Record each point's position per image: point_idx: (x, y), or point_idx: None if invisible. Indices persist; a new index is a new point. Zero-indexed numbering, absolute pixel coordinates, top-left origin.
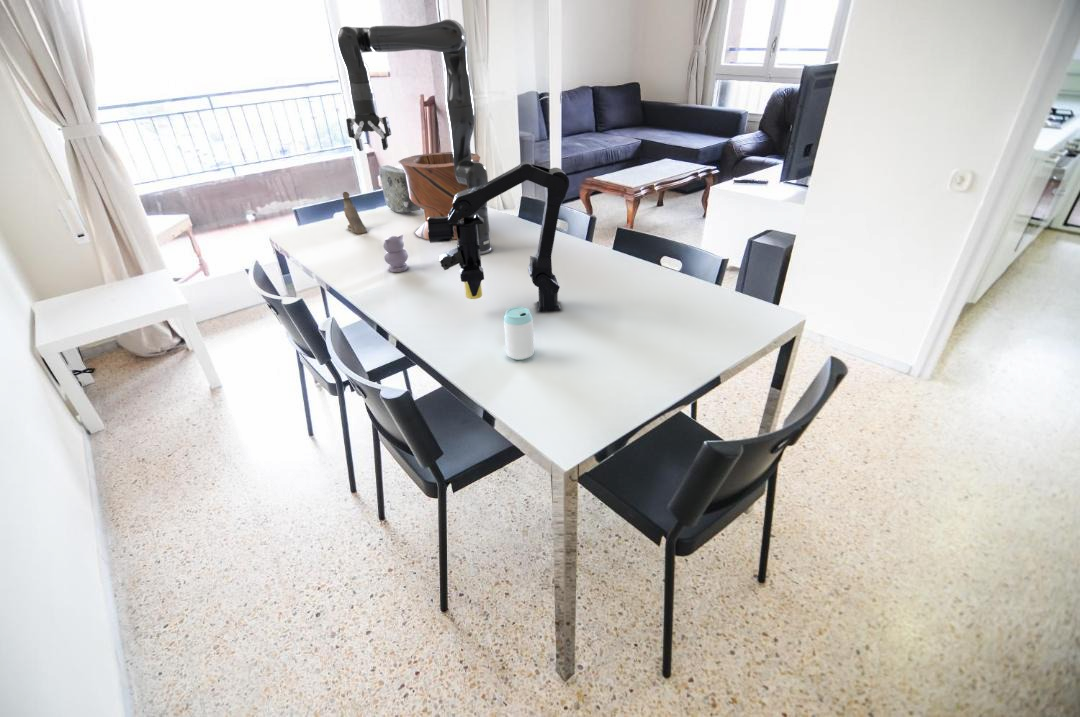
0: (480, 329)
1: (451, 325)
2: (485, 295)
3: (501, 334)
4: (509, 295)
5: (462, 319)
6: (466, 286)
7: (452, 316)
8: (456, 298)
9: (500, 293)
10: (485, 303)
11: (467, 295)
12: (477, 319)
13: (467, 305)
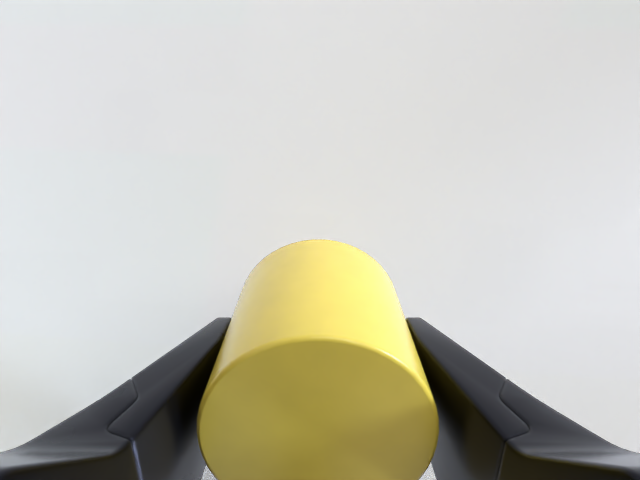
0: (75, 255)
1: (147, 54)
2: (583, 315)
3: (12, 359)
4: None
5: (238, 144)
6: (246, 327)
7: (304, 65)
8: (636, 106)
9: (569, 399)
10: (454, 307)
11: (265, 267)
12: (221, 245)
13: (467, 189)
